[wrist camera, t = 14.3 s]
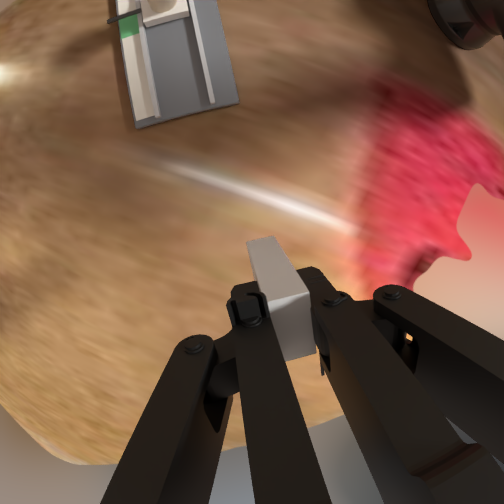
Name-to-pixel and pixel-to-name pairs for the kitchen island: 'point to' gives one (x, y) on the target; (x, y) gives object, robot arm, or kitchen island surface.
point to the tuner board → (175, 63)
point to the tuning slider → (157, 11)
